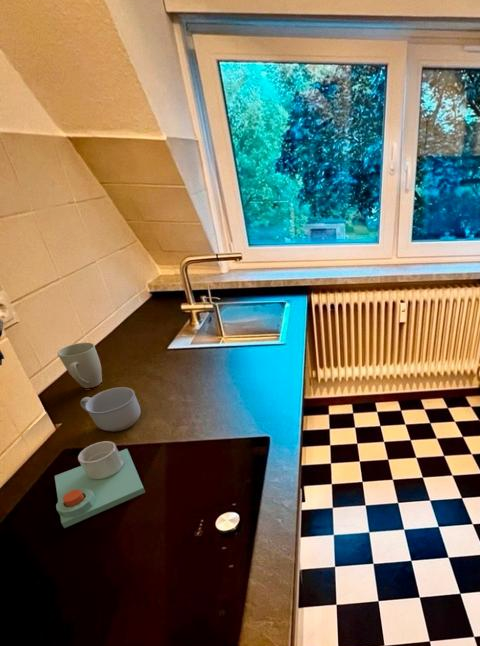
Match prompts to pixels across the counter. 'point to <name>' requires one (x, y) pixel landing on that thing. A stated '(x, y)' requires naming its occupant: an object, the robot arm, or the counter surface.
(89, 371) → the mug
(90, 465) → the bowl
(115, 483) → the scale
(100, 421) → the teacup
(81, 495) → the tare button
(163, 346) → the counter surface
